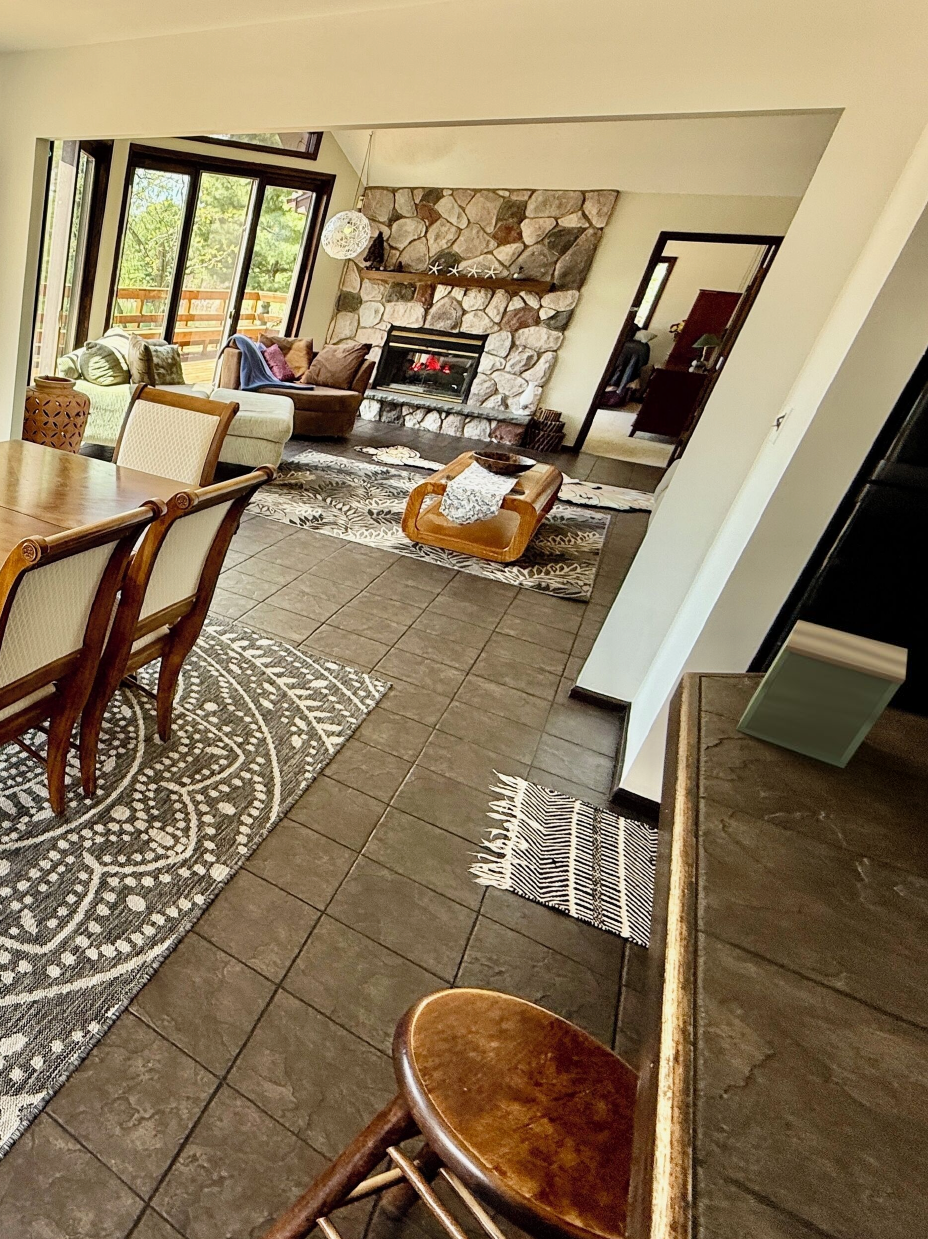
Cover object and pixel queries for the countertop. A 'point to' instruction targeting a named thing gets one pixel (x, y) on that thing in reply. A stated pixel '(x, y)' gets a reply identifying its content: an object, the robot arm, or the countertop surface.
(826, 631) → the lid
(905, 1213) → the countertop surface
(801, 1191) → the countertop surface
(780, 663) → the chest
